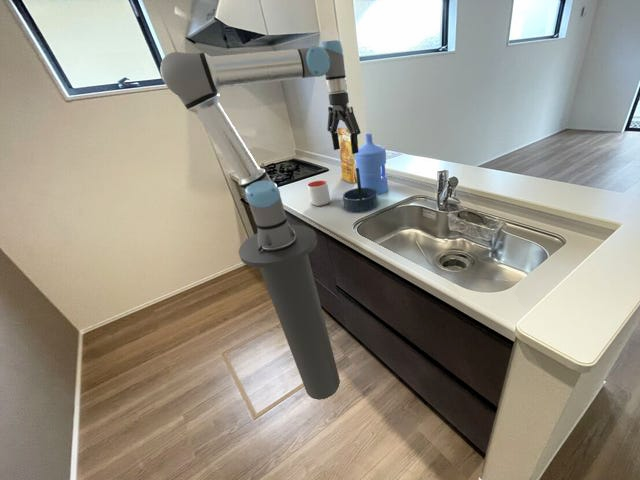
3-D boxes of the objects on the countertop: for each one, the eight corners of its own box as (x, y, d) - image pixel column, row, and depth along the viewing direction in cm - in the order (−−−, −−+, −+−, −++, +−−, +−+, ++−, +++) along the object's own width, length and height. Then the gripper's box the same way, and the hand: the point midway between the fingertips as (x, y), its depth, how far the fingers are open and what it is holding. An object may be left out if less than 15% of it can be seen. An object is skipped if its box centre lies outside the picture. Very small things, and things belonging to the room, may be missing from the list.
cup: (318, 198, 159) (314, 179, 153) (334, 200, 155) (330, 180, 149) (307, 205, 152) (303, 186, 146) (323, 207, 148) (319, 187, 142)
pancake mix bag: (348, 175, 188) (341, 126, 172) (362, 181, 174) (357, 129, 158) (338, 177, 186) (331, 128, 170) (352, 184, 172) (346, 131, 156)
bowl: (358, 215, 136) (356, 203, 132) (337, 206, 147) (336, 195, 143) (385, 204, 143) (384, 192, 140) (364, 196, 154) (362, 185, 151)
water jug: (364, 198, 153) (358, 139, 136) (355, 189, 165) (348, 134, 149) (392, 192, 156) (389, 134, 140) (382, 183, 168) (378, 129, 152)
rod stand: (360, 207, 141) (355, 170, 131) (352, 204, 145) (347, 168, 135) (370, 203, 144) (366, 167, 134) (362, 200, 148) (358, 165, 138)
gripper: (365, 90, 107) (371, 152, 119) (328, 91, 123) (336, 146, 136) (348, 93, 103) (356, 157, 115) (313, 94, 120) (322, 149, 132)
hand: (345, 151), depth 125 cm, fingers open, 13 cm apart
